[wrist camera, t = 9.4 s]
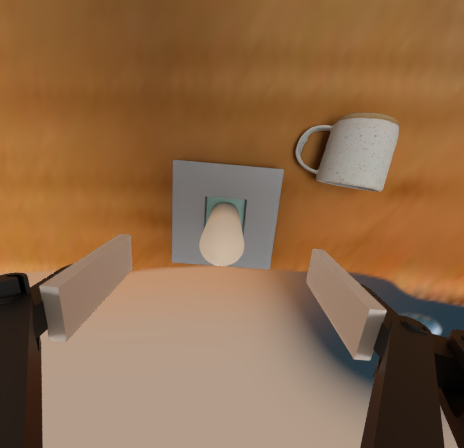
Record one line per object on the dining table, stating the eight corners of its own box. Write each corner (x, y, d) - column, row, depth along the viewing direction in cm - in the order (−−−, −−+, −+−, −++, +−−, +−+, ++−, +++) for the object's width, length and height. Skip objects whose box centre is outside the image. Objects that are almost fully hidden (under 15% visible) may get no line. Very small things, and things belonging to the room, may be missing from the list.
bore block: (179, 160, 30) (173, 159, 27) (278, 168, 30) (284, 169, 27) (177, 252, 34) (171, 262, 30) (265, 259, 34) (269, 269, 31)
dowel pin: (211, 200, 30) (200, 222, 18) (240, 202, 30) (246, 225, 19) (210, 227, 31) (198, 264, 19) (237, 229, 31) (242, 267, 20)
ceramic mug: (376, 129, 29) (425, 117, 22) (357, 189, 31) (396, 196, 24) (301, 116, 29) (324, 98, 22) (287, 177, 31) (303, 180, 24)
